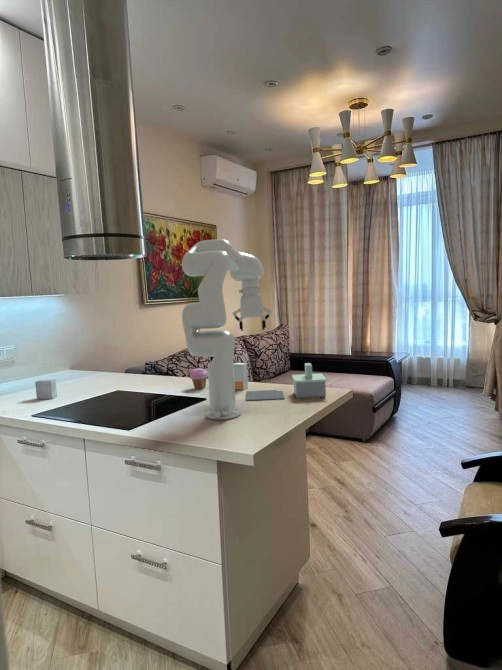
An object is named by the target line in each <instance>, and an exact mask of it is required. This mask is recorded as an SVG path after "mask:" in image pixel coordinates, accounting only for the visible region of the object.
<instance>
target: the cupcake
mask: <svg viewBox="0 0 502 670" xmlns="http://www.w3.org/2000/svg"><path fill="white" fill-rule="evenodd" d="M189 378H190V379H191V381H192V385H193V388H194V389H195V390H203V389H205V388H206V386H207V380H208V370H206V369H205V368H200V367H197V368H194V369H191V371H190V372H189Z"/></svg>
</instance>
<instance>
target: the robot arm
mask: <svg viewBox="0 0 502 670" xmlns="http://www.w3.org/2000/svg"><path fill="white" fill-rule="evenodd" d="M181 268H182V271H183V273H184V274H185V275H186V276H188V277H203V279H202V280H201V282H200V284H199V286H198V289H197V294H198V300H199V302H190V303H187V304H186V305H184V307H183V310H182V313H181V320H182V321H181V322H182V327H183V328H182V329H183V332H184V337H185V341H186V346H187V350H188V352H189V354H190V355H191V356H193V357H213V358H212V360H211V361H210V363H209V364H208V366H207V373H208V377H207V380H208V392H209V395H208V396H209V397H208V398H209V410H208V411H207V412H206V413H205V414H206V418H207V419H211V420H217V421H218V420H223V421H224V420H230V419H235V418H237V417H239V416H240V415H241V410H240V409H238V408H237V406H236V389H235V384H234V366H233V364H234V353H235V345H236V340H235V337H234V335H233V333H231V331H228V330H225V329H224V330H223V329H219V328H222V327H224V326H225V325H226V323H227V313H226V312H227V311H226V306H225V300H224V294H223V287H224V286H223V285H224V282H225V281H224V280H225V278H226V275H227V273H228V271H229V275H230V276H231V278H232V279H233V280H234V281H237V282H241V289H239V290H238V293H239V294H241V295H240V299H239V300H240V301H239V303H240V304H239V305H240V306H239V309H237V310H234V311H233V312H232V316H233V317H234V319H235V320H236V321H237V322H239V330H240V331H241V332H243V331H244V329H243V328H244V326H243V325H244V324H243V320H244V319H247V318H250V319H251V318H261V327H262V330H263V331H265V329H266V327H267V325H266V321H267V319H268V318H269V317H270V316H271V313H272V310H271V309H268V308H266V307H264V303H263V297H262V294H260V284H259V282H260V281H259V280H260V279H262V278H263V277H264V275H265V268H264V265H263V263H262V262H261V260H260V259H259V258H258V257H257V256H255V255H252V254H249V253H245V252H241V251H239V250H237V249H236V248H235V246H233V245H232V244H231V242H230V241H229V240H226V239H224V238H217V239H207V240H200V241H198V242H196V243H195V244H194V245H193V246H192V247H191V248H190V249H189V250H187V252H186V253H185V254H184V255H183V257H182V260H181ZM264 312H266V315H265V316H264ZM238 313H240V317H239V316H238V315H237V314H238ZM203 329H204V330H203ZM206 329H207V330H206ZM209 329H213V330H209Z"/></svg>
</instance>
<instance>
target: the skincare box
mask: <svg viewBox="0 0 502 670" xmlns="http://www.w3.org/2000/svg"><path fill="white" fill-rule="evenodd" d="M233 366H234V384H235V390H242V389H244V390H247V389H248V388H249V384H248V383H249V380H248V363H247V362H233ZM246 388H247V389H246Z"/></svg>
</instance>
